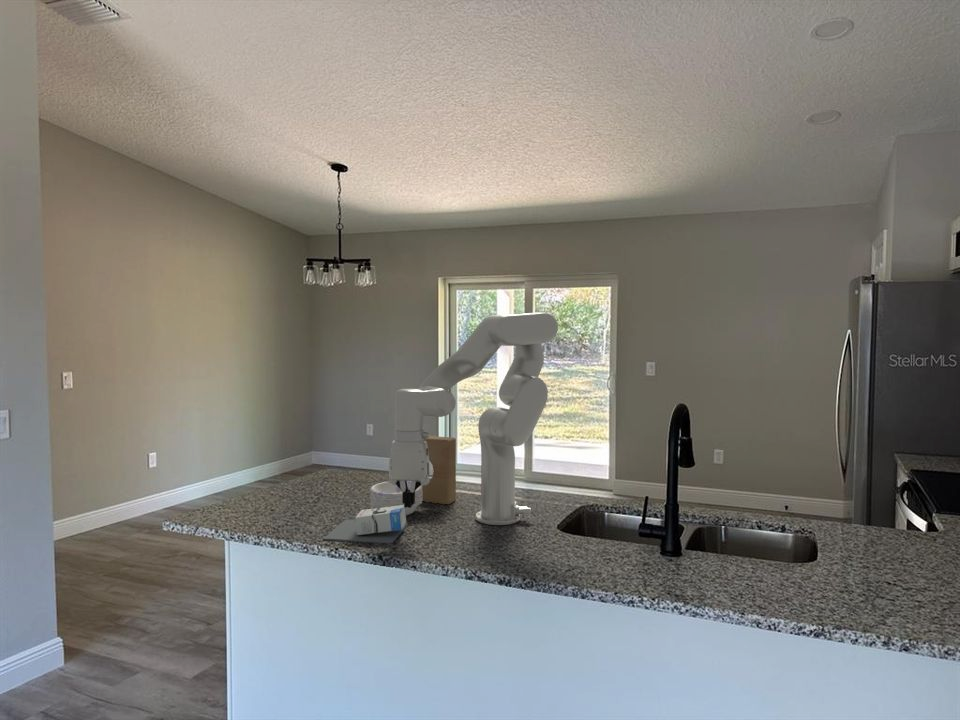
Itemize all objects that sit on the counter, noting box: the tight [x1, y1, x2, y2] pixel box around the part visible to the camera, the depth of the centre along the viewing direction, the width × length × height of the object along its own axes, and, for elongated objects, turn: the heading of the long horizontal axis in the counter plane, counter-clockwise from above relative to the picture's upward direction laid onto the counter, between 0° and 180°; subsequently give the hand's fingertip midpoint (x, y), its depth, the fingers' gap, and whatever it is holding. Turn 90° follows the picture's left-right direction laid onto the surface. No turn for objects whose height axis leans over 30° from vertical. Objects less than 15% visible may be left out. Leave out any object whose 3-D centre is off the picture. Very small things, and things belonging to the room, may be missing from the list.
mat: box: [322, 519, 409, 544], centre depth 162 cm, size 18×16×1 cm
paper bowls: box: [369, 481, 423, 517], centre depth 179 cm, size 15×15×8 cm
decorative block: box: [422, 435, 457, 505], centre depth 191 cm, size 11×6×20 cm, turn 65°
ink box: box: [354, 505, 407, 535], centre depth 160 cm, size 8×5×12 cm
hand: (408, 506), depth 160 cm, fingers closed
